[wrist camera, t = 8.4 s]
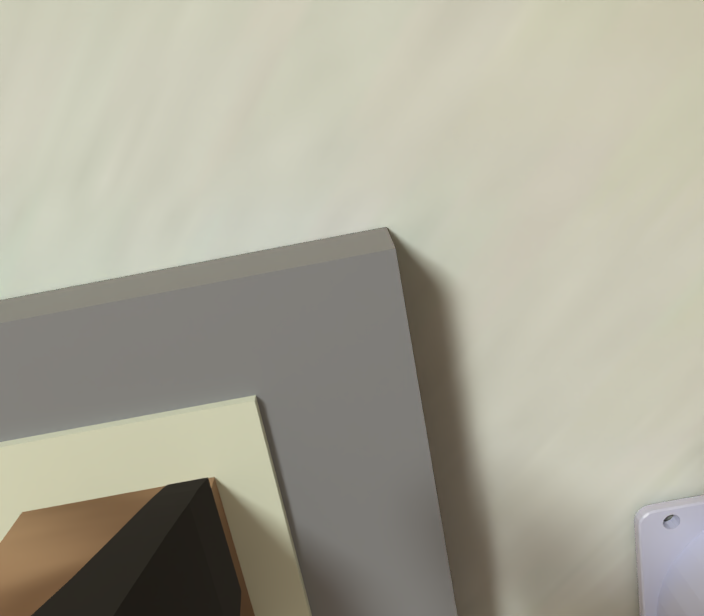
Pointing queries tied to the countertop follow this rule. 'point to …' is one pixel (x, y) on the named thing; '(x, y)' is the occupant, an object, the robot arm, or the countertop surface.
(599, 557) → the countertop surface
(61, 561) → the walnut cube
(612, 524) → the countertop surface
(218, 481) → the slate board
